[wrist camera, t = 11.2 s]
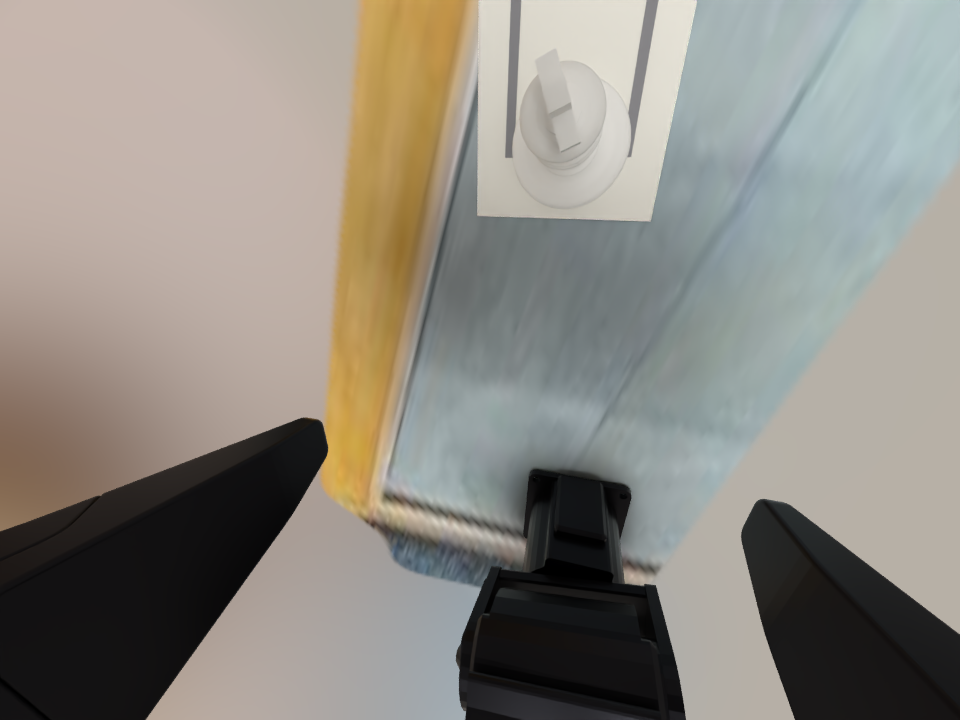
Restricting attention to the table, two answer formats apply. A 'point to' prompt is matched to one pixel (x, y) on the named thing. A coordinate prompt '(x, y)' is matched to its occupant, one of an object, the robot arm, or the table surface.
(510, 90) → the slotted cream plate
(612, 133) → the chess piece
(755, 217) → the table surface
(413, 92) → the table surface
